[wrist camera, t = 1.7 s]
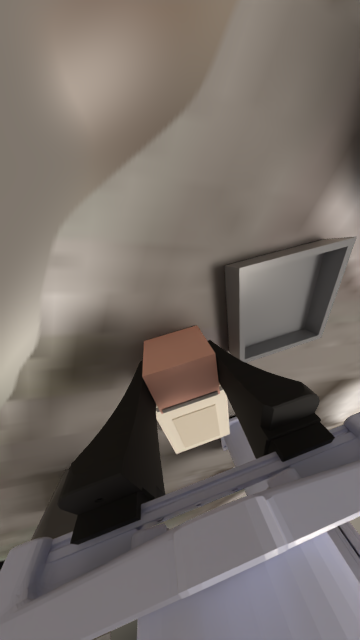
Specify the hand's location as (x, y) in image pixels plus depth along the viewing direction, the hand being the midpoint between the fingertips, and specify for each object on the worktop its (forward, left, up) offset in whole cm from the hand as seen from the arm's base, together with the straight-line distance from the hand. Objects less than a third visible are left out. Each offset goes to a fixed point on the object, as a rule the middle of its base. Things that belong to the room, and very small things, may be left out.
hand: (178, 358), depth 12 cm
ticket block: (-8, 0, -1) cm, 8 cm away
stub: (0, 0, -1) cm, 1 cm away
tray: (+2, -10, -1) cm, 10 cm away
